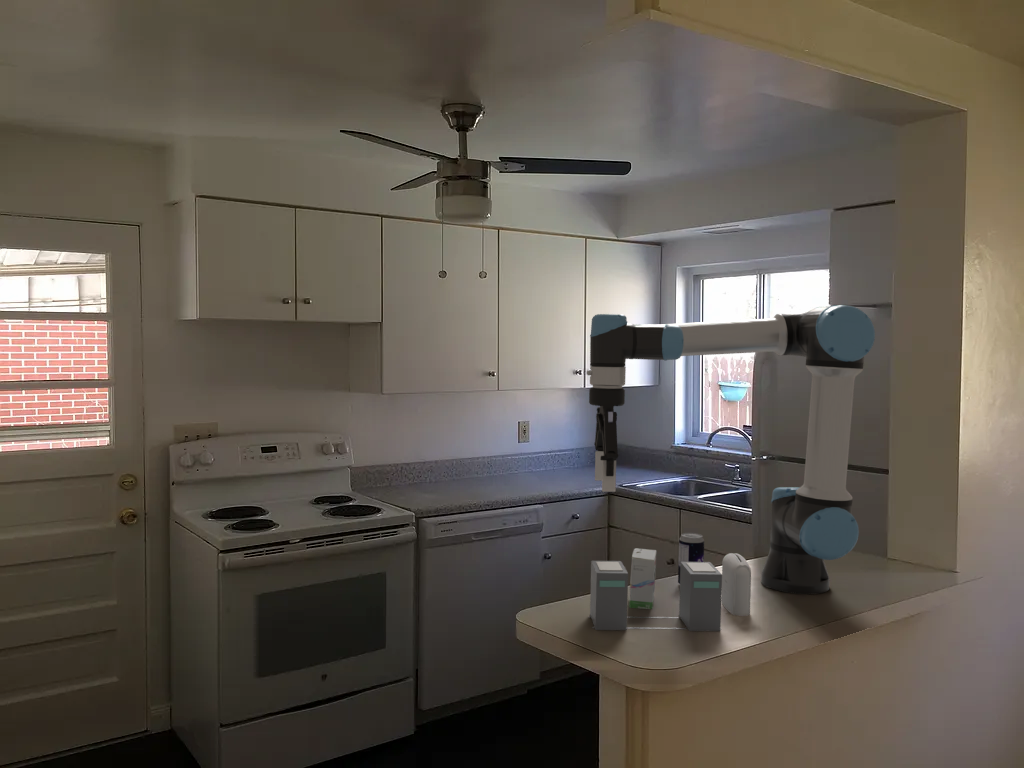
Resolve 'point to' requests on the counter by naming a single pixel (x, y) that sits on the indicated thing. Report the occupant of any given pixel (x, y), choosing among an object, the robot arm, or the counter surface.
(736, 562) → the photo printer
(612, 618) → the module
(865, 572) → the counter surface
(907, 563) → the counter surface
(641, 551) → the ink box
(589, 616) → the rail
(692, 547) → the beverage can
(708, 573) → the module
